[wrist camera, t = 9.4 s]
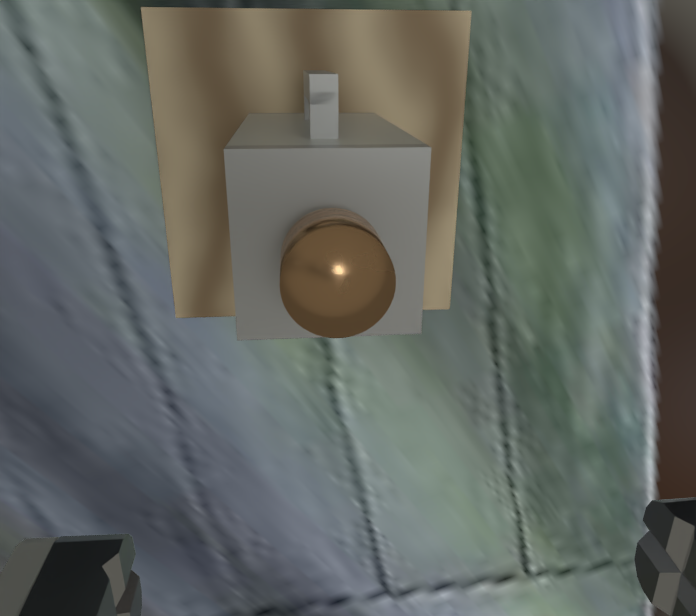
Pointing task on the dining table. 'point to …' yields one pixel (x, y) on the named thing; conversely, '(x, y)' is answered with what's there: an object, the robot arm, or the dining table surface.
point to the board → (288, 97)
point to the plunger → (335, 274)
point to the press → (323, 201)
